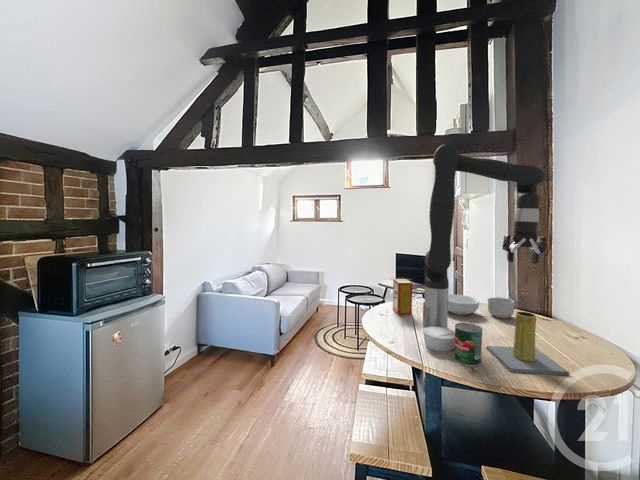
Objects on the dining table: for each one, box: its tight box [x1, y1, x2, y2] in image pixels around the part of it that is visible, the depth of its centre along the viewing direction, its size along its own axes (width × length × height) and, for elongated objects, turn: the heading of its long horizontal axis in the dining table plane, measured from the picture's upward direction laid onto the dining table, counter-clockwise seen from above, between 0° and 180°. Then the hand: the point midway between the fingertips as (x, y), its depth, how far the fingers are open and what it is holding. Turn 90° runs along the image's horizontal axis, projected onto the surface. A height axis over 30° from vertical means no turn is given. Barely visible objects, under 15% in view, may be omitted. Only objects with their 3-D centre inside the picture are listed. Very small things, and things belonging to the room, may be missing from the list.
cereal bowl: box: [448, 293, 480, 316], centre depth 144 cm, size 17×17×7 cm
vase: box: [513, 311, 537, 362], centre depth 94 cm, size 6×6×14 cm
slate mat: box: [486, 345, 570, 376], centre depth 94 cm, size 16×16×1 cm
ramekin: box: [422, 327, 455, 352], centre depth 105 cm, size 11×11×5 cm
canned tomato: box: [453, 322, 484, 367], centre depth 94 cm, size 8×8×11 cm
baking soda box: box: [392, 278, 413, 316], centre depth 144 cm, size 10×6×16 cm
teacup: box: [486, 296, 515, 319], centre depth 140 cm, size 14×11×8 cm
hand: (522, 262), depth 113 cm, fingers open, 8 cm apart
